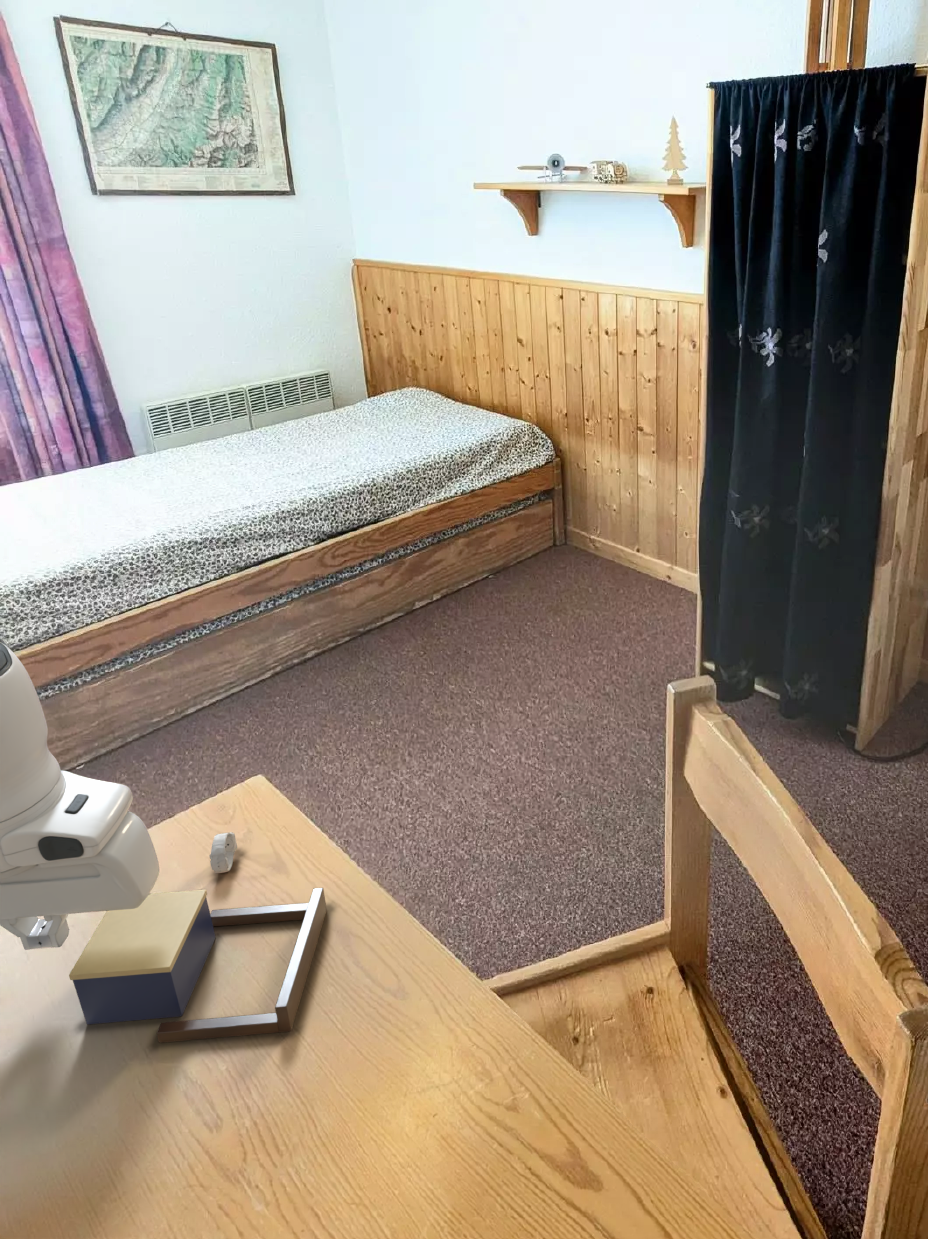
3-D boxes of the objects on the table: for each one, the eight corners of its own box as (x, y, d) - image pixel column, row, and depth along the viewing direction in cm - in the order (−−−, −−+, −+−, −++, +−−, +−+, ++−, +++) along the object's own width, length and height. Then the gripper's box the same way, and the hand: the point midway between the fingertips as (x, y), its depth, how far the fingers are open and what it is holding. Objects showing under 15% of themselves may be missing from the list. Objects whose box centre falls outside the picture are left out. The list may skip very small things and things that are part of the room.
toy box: (84, 1025, 72) (68, 975, 70) (129, 943, 80) (115, 895, 77) (182, 1017, 73) (169, 967, 71) (217, 936, 80) (206, 889, 78)
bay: (158, 1043, 70) (151, 1018, 69) (214, 918, 82) (208, 895, 81) (291, 1031, 72) (286, 1006, 70) (327, 909, 83) (323, 887, 82)
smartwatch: (232, 879, 87) (226, 849, 85) (210, 882, 86) (203, 852, 85) (239, 853, 90) (233, 824, 89) (218, 856, 90) (212, 827, 88)
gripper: (-158, 859, 65) (-103, 985, 70) (115, 839, 67) (150, 963, 72) (-100, 801, 71) (-53, 922, 76) (149, 785, 73) (180, 903, 77)
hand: (48, 942), depth 74 cm, fingers closed
